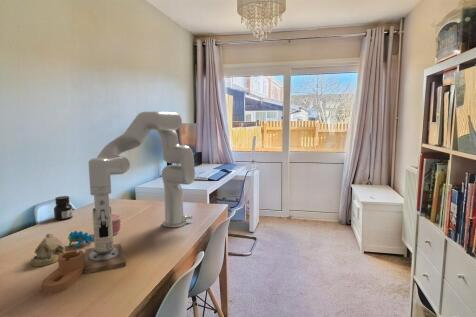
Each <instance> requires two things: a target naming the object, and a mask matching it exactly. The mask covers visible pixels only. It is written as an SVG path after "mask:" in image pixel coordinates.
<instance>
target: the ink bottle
mask: <svg viewBox="0 0 476 317" xmlns="http://www.w3.org/2000/svg"><path fill="white" fill-rule="evenodd" d="M54 201H55V206H54V208H53V214H54V220H56V221H66V220H69V219H71V218H73V206H72V204H70V196H68V195H61V196H57V197H55V200H54Z"/></svg>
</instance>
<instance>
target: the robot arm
mask: <svg viewBox="0 0 476 317" xmlns="http://www.w3.org/2000/svg"><path fill="white" fill-rule="evenodd" d="M182 122H183V120H182V117H181V115H180V114H179V113H178V112H175V111H173V112H171V111H141V112H139V113H138V114H136V116H135V118H134V119H133V121H132V122H131V123H130V125H129V126H128V127H127V129H125V132H123V133H122V134H121V135H120V136H117V137H116V138H114V139H113V140H112V141H110V142H109V143H107V144H106V145H104V147H103V148H102V150H101V151H100V152H99V154H98V155H97V157H95V158H91V159H89V161H88V176H89V190H90V191H89V193H90V195H91V196H93V199H94V201H93V202H94V208H95V211H96V217H97V220H98V221H99V237H100V238H103V237H108V226H107V219H110V218H111V216H110V207H111V203H110V194H112V181H111V180H112V178H111V176H115V175H123V174H125V173H127V172H128V171H129V169H130V168H131V167H130V166H131V165H130V160H129V159H128V158H127V157H125V156H123V155H121V154H124V153H126V152H127V151H128V152H129V151H131V150H135V148H139V147H141V146H142V144H143V142H144V141H145V139H146V138H147V137H148V135H149V133H151V131H156V132H157V134H159V137H160V141H161V142H160V143H161V152H162V159H163V160H164V162H166V163H169V165H168V164H167V165H166V166H165V167H164V168H162V170H161V178H162V183H163V188H164V192H163V193H164V217H165V218H164V220H163V221H162V226H163V227H165V228H179V227H183V226H185V225H186V224H187V220H192V219H193V215H189V214H184V192H183V191H184V190H183V187H182V185H185V186H186V185H191V184H193V183H194V181H195V178H196V172H195V171H196V170H195V159H194V158H195V157H194V156H195V155H194V153H193V152H194V151H193V149H192V148H191V147H190V146H188V145H185V144H184V145H183V144H180V143H179V136H178V133H177V130H179V129H180V128H181V126H182ZM175 164H176V165H175ZM100 210H101V212H100ZM104 213H105V214H104ZM100 215H101V216H100ZM105 216H106V219H105ZM100 217H101V219H100ZM101 221H102V222H101Z"/></svg>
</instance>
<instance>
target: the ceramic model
mask: <svg viewBox="0 0 476 317" xmlns="http://www.w3.org/2000/svg"><path fill="white" fill-rule="evenodd" d="M65 249H66V245H65V244H64V243H62V241H61V240H60V239H59V238H58V237H56V236H55V235H53V233H46V235H45V238H43V239H42V241H40V243H39V245H38V246H37V247H36V248H35V249H34V253H35V255H34V256H33V258H32V259H30V263H31V264H32V265H31V266H34V267H43V266H47V265H51V264H53V263H56V262H58V256H59V255H60V254H62V253H65V252H68V251H66V250H65Z"/></svg>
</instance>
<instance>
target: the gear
mask: <svg viewBox="0 0 476 317" xmlns="http://www.w3.org/2000/svg"><path fill="white" fill-rule="evenodd" d="M67 240H69V244H68V247H71V246H72V243H76V242H77V244H76V248H80V246H81V243H84V242H85V243H89V242H92V241H94V236H93V235H92V234H89V233H88V232H84V233H83V231H81V230H80V231H79V232H78V230H74V231H70V233H69V235H68V238H67Z"/></svg>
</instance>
